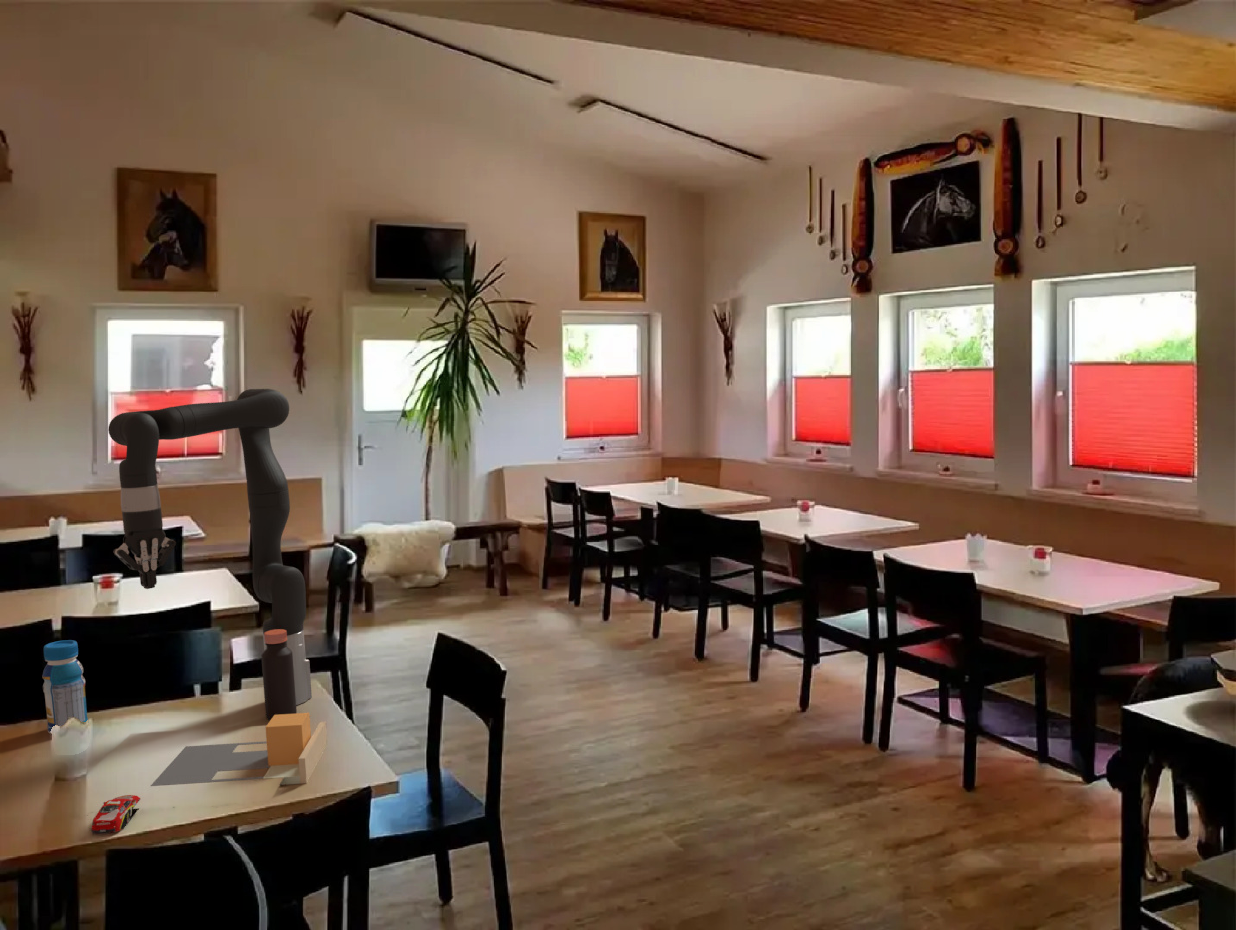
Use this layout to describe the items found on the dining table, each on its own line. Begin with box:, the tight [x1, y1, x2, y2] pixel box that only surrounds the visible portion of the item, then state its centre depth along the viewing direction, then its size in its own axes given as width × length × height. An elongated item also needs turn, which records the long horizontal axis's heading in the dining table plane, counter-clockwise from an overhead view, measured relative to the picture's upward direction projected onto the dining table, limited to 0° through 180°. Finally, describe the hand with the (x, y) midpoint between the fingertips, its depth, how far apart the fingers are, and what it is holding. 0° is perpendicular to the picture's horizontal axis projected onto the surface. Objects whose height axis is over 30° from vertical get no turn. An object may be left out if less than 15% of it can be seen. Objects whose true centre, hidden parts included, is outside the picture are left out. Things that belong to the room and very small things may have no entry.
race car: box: [91, 794, 141, 835], centre depth 184 cm, size 13×5×4 cm, turn 6°
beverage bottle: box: [41, 639, 89, 734], centre depth 231 cm, size 8×8×20 cm
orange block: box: [265, 712, 312, 766], centre depth 206 cm, size 7×7×8 cm
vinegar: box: [261, 629, 298, 721], centre depth 235 cm, size 7×7×20 cm
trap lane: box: [150, 721, 328, 787], centre depth 206 cm, size 29×20×5 cm
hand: (149, 587), depth 217 cm, fingers closed
